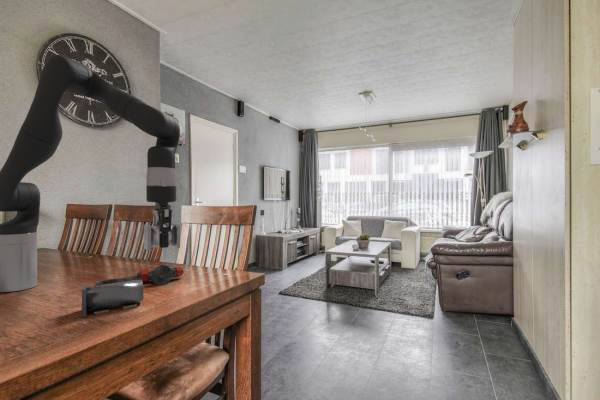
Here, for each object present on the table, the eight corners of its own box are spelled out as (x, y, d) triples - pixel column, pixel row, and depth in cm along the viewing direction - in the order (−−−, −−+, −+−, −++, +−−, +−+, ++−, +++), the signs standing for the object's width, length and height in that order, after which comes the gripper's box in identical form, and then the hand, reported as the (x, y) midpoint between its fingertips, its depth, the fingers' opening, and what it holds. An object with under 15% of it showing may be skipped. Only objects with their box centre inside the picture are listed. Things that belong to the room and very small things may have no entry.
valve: (184, 277, 112) (184, 282, 98) (104, 288, 102) (91, 295, 89) (183, 260, 113) (183, 262, 99) (104, 270, 103) (91, 273, 89)
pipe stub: (81, 317, 68) (81, 290, 68) (82, 309, 74) (82, 283, 74) (143, 306, 76) (143, 281, 76) (140, 299, 81) (140, 276, 81)
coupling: (174, 245, 86) (174, 223, 86) (180, 247, 81) (180, 224, 81) (144, 247, 82) (144, 224, 82) (147, 250, 76) (147, 226, 77)
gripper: (142, 185, 85) (142, 244, 85) (150, 183, 73) (150, 251, 73) (170, 186, 89) (170, 242, 89) (182, 184, 78) (182, 248, 78)
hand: (161, 245), depth 81 cm, fingers closed on coupling, 5 cm apart
